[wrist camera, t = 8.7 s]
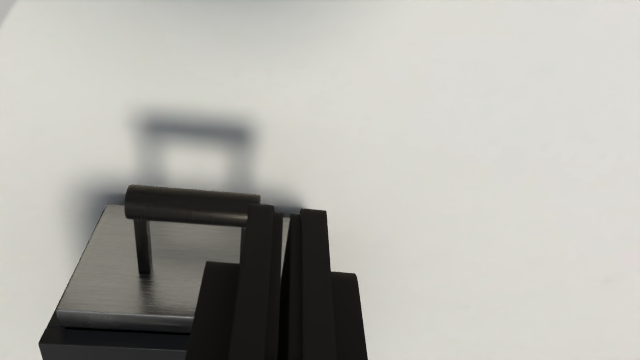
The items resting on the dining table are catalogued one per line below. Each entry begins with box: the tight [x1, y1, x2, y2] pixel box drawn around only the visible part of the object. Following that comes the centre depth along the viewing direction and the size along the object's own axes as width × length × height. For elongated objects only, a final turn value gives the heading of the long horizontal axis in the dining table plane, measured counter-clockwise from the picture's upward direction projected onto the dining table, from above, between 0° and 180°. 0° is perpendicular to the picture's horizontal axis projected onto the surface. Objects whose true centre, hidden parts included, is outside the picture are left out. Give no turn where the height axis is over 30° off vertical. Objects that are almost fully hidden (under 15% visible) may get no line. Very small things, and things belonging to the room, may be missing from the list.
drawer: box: [56, 185, 290, 335], centre depth 30 cm, size 19×12×8 cm, turn 173°
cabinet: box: [39, 210, 190, 360], centre depth 32 cm, size 15×13×10 cm
